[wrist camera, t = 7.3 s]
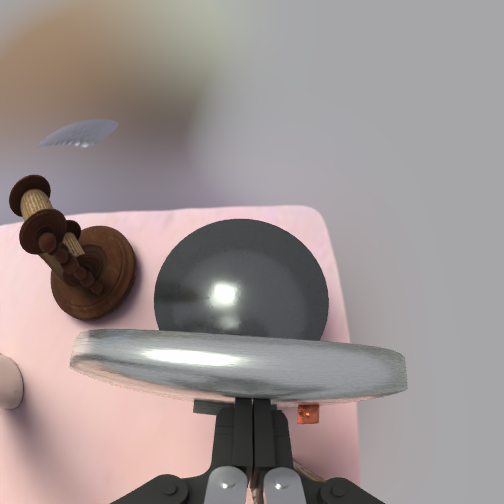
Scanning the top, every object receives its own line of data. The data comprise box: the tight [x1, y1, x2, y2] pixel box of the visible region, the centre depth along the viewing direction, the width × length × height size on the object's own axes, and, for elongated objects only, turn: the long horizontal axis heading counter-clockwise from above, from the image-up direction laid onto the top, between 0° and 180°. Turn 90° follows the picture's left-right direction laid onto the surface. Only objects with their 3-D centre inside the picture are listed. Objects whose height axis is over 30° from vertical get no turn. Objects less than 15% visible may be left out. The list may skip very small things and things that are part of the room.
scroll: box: [9, 175, 136, 320], centre depth 29 cm, size 15×15×20 cm
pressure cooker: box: [154, 219, 329, 341], centre depth 32 cm, size 19×18×10 cm
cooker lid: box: [69, 329, 407, 424], centre depth 15 cm, size 19×19×3 cm
